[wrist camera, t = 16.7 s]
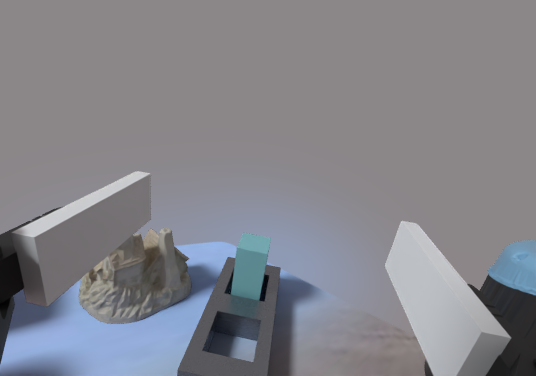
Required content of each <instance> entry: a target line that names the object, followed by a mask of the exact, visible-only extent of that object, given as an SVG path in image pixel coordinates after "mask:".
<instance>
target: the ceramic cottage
mask: <svg viewBox="0 0 536 376" xmlns="http://www.w3.org/2000/svg"><path fill="white" fill-rule="evenodd" d="M188 259H189V258H188V257H186V256H185V255H184V254H182V253H181V252H180V251H179V250H178V249H177V248H175V247H174V243H173V238H172V231H171V230H170V229H168V228H164V229H162V230H161V231H160V233H159V235H158V234H157V233H156V232H155V231H154V230H153V229H149V232H148V233H147V235H146V236H145V238H144V240H142V237H141V233H138V234H135V235H132V236H131V237H130V238H128V239H127V240H126V241H125V242H124V243H122V244H121V245H120V246H119V247H118V248H116V249H115V250H114V251H113V252H112V253H111V254H109V255H108V256H107V257H106V258H105V259H103V260H102V261H101V262H100V263H99V264H98V265H96V266H95V267H94V268H93V269H92V270H90V271H89V272H88V273H87V274H86V275H85V276H83V277H82V279H81V286H80V290H79V303H80V304H81V305H82V307H83V308H85V309H86V310H87V311H88V313H89V314H90V315H91V316H93V317H94V318H96V319H98V320H99V321H101V322H104V323H110V324H124V323H132V322H136V321H139V320H142V319H144V318H146V317H148V316H150V315H152V314H154V313H156V312H158V311H160V310H163V309H165V308H167V307H169V306H171V305H173V304H175V303H177V302H179V301H181V300H183V299H184V298H186V297H187V295H188V294H189V293H190V291H191V279H190V276H189V274H188V272H187V268H188V267H187V264H186V263H185V262H186V261H187V260H188Z"/></svg>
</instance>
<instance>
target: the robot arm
mask: <svg viewBox="0 0 536 376" xmlns="http://www.w3.org/2000/svg"><path fill="white" fill-rule="evenodd" d="M150 197H151V186H150V174H148V173H144V172H138V171H136V172H134V173H132V174H130V175H128V176H126V177H124V178H122V179H120V180H118V181H116V182H114V183H111V184H110V185H108V186H106V187H103V188H101V189H99V190H97V191H95V192H93V193H91V194H89V195H87V196H85V197H83V198H81V199H79V200H77V201H75V202H73V203H71V204H68V205H66V206H64V207H60V208H56V209H53V210H51V211H49V212H47V213H45V214H43V215H42V216H39V217H36V218H35V219H33V220H32V221H28V222H26V223H24V224H22V225H20V226H18V227H16V228H14V229H11V230H9V231H7V232H5V233H3V234H1V235H0V363H1V359H2V355H3V351H4V346H5V342H6V338H7V334H8V330H9V326H10V321H11V317H12V313H13V309H14V305H15V304H14V299H13V295H15V294H16V293H18V292H19V291H20V290H22V289H23V288H24V293H25V297H26V302H28V303H32V304H36V305H41V306H45V307H48V306H49V305H50V304H51V303H53V302H54V301H55V300H56V299H57V298H59V297H60V296H61V295H62V294H63V293H64V292H66V291H67V290H68V289H69V288H70V287H72V286H73V285H74V284H75V283H76V282H77V281H79V280H80V279H81V278H82V277H83V276H85V275H86V274H87V273H88V272H89V271H90V270H92V269H93V268H94V267H95V266H96V265H98V264H99V263H100V262H101V261H102V260H103V259H105V258H106V257H107V256H108V255H109V254H111V253H112V252H113V251H114V250H115V249H116V248H118V247H119V246H120V245H121V244H122V243H124V242H125V241H126V240H127V239H128V238H130V237H131V236H132V235H133V234H134V233H135V232H137V231H138V230H139V229H140V228H141V227H142V226H144V225H145V224H146V223H147V222H148V221H150V220H151V198H150ZM385 267H386V270H387V272H388V274H389V277H390V279H391V281H392V283H393V285H394V288H395V290H396V292H397V295H398V297H399V299H400V301H401V304H402V306H403V308H404V310H405V312H406V315H407V317H408V319H409V322H410V324H411V326H412V328H413V330H414V333H415V335H416V337H417V340H418V342H419V344H420V346H421V349H422V351H423V353H424V355H425V358H426V360H425V374H426V376H536V241H534V240H527V241H518V242H514V243H512V244H510V245H508V246H507V247H506V248H505V249H504V250H503V251H502V253H501V254H500V256H499V257H498V259H497V260H496V262H495V263H494V265H492V266H491V267H490V268H489V270H488V272H489V273H488V276H487V278H486V280H485V282H484V284H483V286H482V287H481V289H480V291H479V290H478V289H476V288H475V287H474V286H472V285H470V284H466V282H465V281H464V280H463V279H462V278H461V276H460V275H459V274H458V273H457V272H456V270H455V269H454V268H453V267H452V265H451V264H450V263H449V262H448V261H447V260H446V258H445V257H444V256H443V255H442V253H441V252H440V251H439V250H438V249H437V247H436V246H435V245H434V244H433V242H432V241H431V240H430V239H429V238H428V236H427V235H426V234H425V233H424V231H423V230H422V229H421V228H420V227H419V225H418V224H416V223H411V222H405V221H401V223H400V226H399V229H398V232H397V234H396V237H395V240H394V243H393V245H392V248H391V251H390V253H389V256H388V259H387V262H386V264H385Z"/></svg>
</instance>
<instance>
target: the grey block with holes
mask: <svg viewBox="0 0 536 376" xmlns="http://www.w3.org/2000/svg"><path fill="white" fill-rule="evenodd" d="M235 259H236V258H231V257H228V258H227V260H226V263H225V265H224V267H223V269H222V272H221V274H220V276H219V278H218V281H217V283H216V285H215V287H214V289H213V292H212V294H211V296H210V298H209V301H208V303H207V305H206V307H205V310H204V312H203V314H202V316H201V319H200V321H199V323H198V325H197V328H196V330H195V332H194V334H193V337H192V339H191V341H190V343H189V346H188V348H187V350H186V352H185V355H184V357H183V359H182V361H181V363H180V366H179V368H178V374H177V376H267V374H268V366H269V358H270V350H271V341H272V333H273V325H274V317H275V309H276V301H277V293H278V285H279V277H280V267H275V266H270V265H266V268H265V273H264V279H263V284H262V290H261V292H262V293H266V295H265V301H264V302H263V301H258V300H254V299H249V298H244V297H240V296H235V295H230V294H229V291H230V289H231V286H232V282H233V274H234V267H235ZM215 332H220V333H224V334H229V335H233V336H238V337H242V338H247V339H251V340H256V341H257V345H256V351H255V357H254V362H249V361H245V360H240V359H236V358H231V357H227V356H222V355H218V354H214V353H209V352H208V349H209V347H210V344H211V341H212V338H213V336H214V333H215Z"/></svg>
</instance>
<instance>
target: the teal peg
mask: <svg viewBox="0 0 536 376" xmlns="http://www.w3.org/2000/svg"><path fill="white" fill-rule="evenodd" d="M270 241H271V238H268V237H263V236H257V235H253V234H248V233H243V235H242V237H241V240H240V242H239V244H238V247H237V252H236V259H235V267H234V274H233V282H232V289H231V295H235V296H240V297H244V298H249V299H254V300H258V301H259V300H260V295H261V290H262V284H263V279H264V273H265V268H266V263H267V257H268V252H269V246H270Z"/></svg>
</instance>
